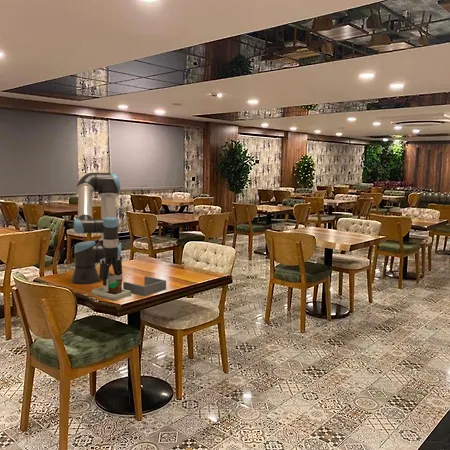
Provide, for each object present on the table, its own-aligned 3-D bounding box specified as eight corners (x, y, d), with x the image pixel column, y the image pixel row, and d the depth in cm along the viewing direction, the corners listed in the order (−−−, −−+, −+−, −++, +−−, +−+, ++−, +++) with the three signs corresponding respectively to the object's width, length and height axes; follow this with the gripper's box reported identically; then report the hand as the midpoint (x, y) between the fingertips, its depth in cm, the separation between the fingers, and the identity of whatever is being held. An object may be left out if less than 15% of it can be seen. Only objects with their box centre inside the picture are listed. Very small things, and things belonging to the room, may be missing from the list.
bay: (123, 290, 240) (123, 282, 239) (145, 284, 254) (145, 276, 253) (143, 296, 231) (143, 286, 230) (166, 289, 245) (166, 280, 245)
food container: (99, 291, 233) (98, 273, 232) (108, 289, 238) (108, 271, 236) (113, 296, 225) (113, 277, 224) (123, 293, 230) (122, 275, 229)
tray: (91, 294, 232) (91, 289, 231) (108, 289, 241) (108, 285, 241) (114, 300, 222) (114, 295, 222) (130, 295, 231) (130, 291, 231)
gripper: (101, 250, 218) (101, 295, 221) (129, 245, 234) (129, 287, 237) (91, 248, 223) (91, 292, 226) (119, 243, 238) (120, 284, 241)
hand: (111, 289), depth 231 cm, fingers closed on food container, 6 cm apart
